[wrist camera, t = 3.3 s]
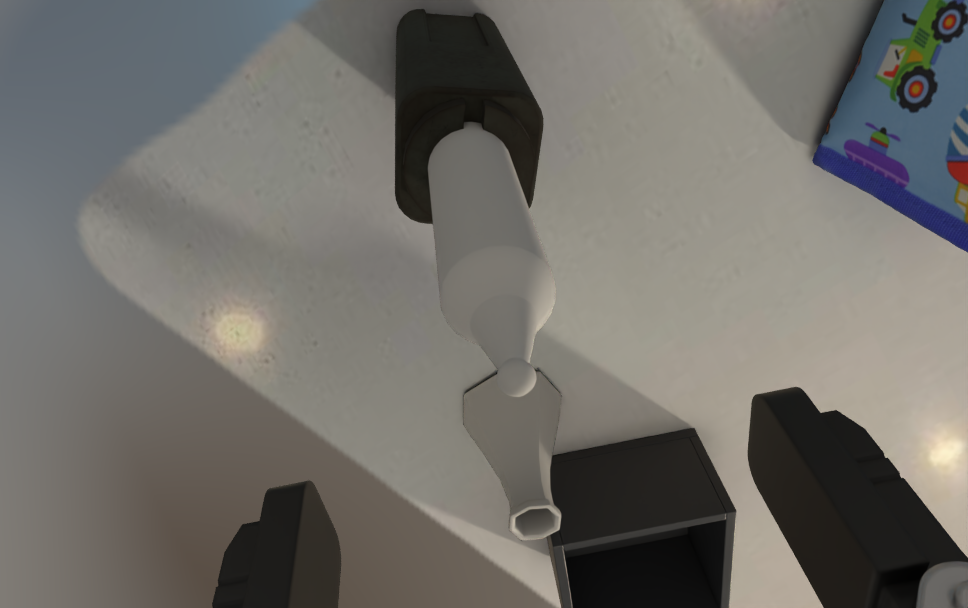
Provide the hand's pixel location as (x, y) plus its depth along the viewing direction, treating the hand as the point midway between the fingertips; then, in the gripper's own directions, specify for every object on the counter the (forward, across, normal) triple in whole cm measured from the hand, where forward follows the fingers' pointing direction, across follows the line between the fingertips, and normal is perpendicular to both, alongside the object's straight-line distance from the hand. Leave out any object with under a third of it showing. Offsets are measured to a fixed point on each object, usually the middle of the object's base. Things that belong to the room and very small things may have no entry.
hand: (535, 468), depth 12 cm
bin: (+27, -7, +36) cm, 46 cm away
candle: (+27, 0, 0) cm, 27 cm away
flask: (+27, 0, +24) cm, 36 cm away
